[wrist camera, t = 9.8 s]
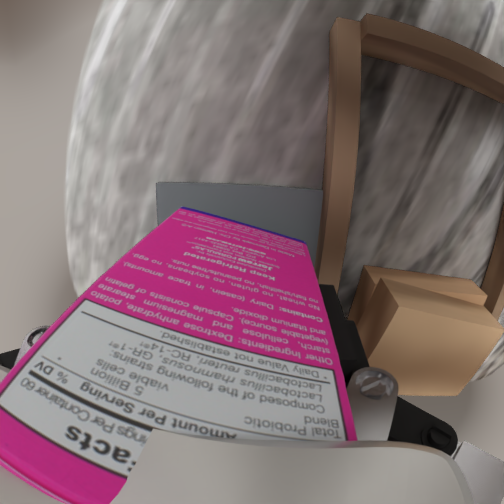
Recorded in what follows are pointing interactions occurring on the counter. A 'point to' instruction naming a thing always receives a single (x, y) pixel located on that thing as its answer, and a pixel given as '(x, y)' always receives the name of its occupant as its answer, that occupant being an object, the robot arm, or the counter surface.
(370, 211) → the counter surface
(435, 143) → the counter surface
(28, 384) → the supplement box
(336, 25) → the wooden frame tray
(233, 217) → the mat
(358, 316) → the offcut lower
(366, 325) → the offcut upper
